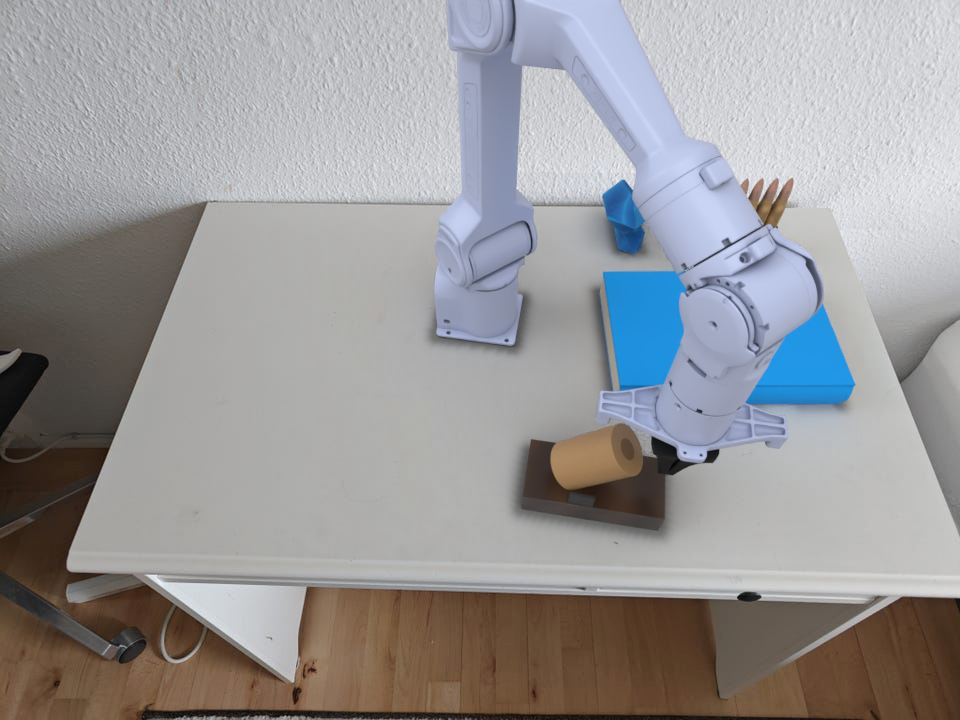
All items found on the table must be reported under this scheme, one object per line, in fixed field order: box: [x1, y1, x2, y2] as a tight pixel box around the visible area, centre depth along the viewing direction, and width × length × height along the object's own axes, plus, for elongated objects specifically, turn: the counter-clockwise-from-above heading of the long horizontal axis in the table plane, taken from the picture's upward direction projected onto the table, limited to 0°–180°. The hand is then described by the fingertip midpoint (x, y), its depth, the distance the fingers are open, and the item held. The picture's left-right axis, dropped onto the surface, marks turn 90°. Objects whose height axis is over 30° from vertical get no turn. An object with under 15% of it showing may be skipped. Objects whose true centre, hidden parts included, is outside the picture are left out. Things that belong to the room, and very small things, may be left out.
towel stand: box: [520, 438, 666, 531], centre depth 63 cm, size 14×6×5 cm, turn 80°
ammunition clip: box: [740, 177, 795, 236], centre depth 79 cm, size 11×2×12 cm, turn 91°
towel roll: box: [551, 422, 644, 490], centre depth 59 cm, size 7×5×5 cm
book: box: [598, 270, 856, 405], centre depth 73 cm, size 17×4×25 cm
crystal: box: [601, 179, 646, 255], centre depth 82 cm, size 7×9×12 cm
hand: (665, 464), depth 57 cm, fingers closed
